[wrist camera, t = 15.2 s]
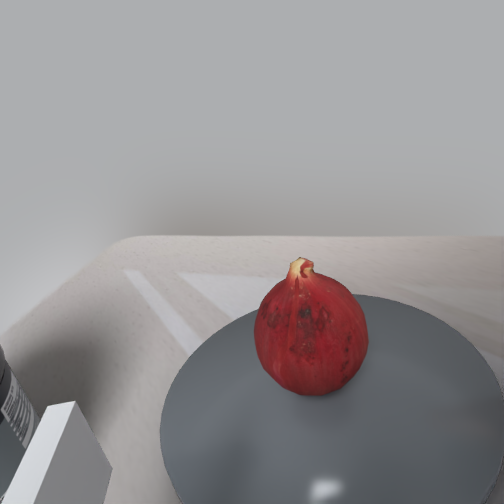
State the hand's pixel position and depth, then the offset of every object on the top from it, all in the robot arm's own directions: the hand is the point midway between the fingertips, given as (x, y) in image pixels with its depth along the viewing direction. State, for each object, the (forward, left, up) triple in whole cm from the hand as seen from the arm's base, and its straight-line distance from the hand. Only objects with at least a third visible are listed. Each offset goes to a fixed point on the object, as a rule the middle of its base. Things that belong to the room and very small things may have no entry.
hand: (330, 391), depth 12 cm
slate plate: (0, -10, -11) cm, 14 cm away
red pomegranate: (0, -10, -10) cm, 14 cm away
